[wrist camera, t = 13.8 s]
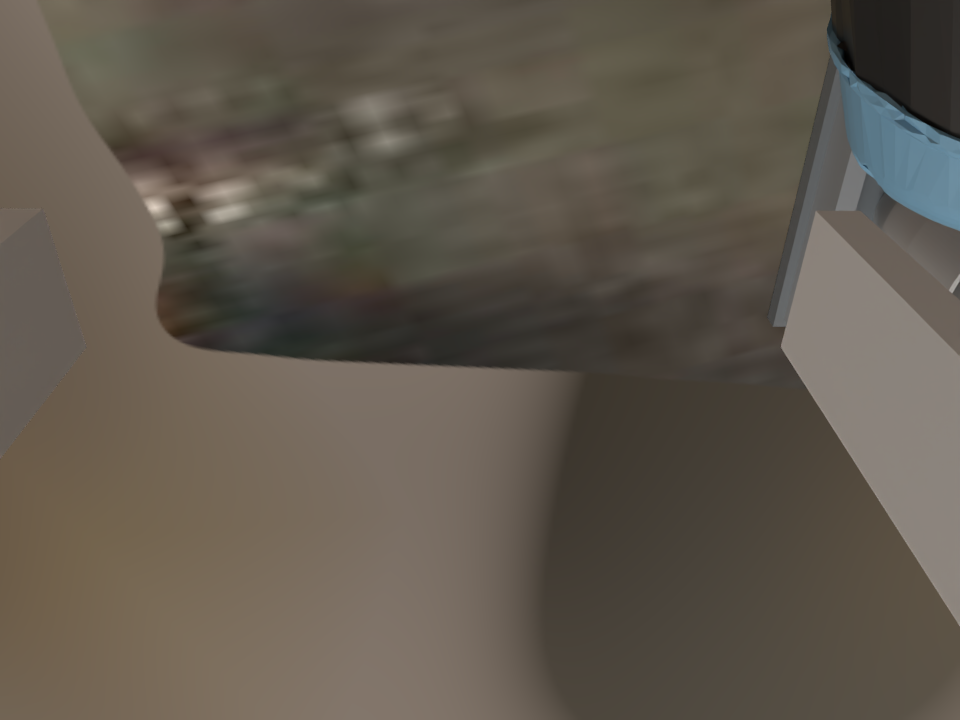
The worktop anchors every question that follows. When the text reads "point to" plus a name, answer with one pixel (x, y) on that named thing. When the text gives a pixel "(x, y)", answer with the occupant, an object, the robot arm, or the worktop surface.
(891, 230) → the cup
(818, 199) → the dish rack
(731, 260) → the worktop surface
